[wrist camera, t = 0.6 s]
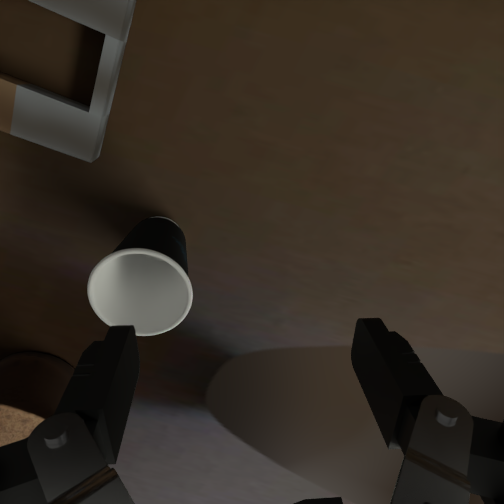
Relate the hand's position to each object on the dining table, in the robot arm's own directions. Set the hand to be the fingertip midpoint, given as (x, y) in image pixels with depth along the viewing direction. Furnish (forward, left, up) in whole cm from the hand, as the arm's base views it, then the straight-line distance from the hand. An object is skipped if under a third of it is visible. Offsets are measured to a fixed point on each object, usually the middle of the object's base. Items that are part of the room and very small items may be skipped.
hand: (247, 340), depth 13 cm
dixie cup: (+9, -4, -25) cm, 27 cm away
